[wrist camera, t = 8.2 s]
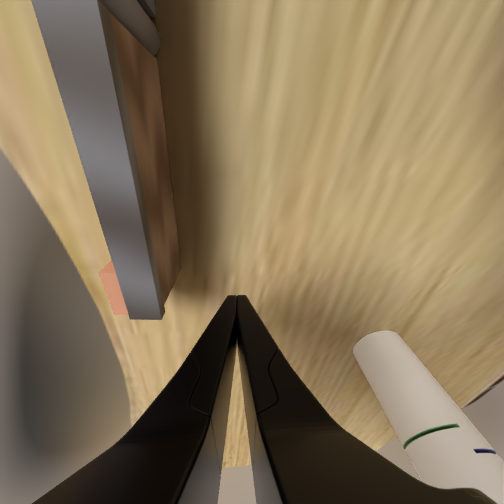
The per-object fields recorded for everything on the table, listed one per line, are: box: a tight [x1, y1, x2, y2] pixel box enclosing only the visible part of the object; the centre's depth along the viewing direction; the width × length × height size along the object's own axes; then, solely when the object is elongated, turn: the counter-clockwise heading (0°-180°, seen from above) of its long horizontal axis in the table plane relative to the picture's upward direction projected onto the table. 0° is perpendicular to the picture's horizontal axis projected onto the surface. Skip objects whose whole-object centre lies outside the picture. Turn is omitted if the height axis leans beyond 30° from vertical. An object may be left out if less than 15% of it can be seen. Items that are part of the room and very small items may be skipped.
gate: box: [31, 0, 181, 320], centre depth 14 cm, size 16×2×7 cm, turn 176°
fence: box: [99, 0, 161, 315], centre depth 12 cm, size 4×27×8 cm, turn 176°
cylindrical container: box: [353, 330, 504, 504], centre depth 19 cm, size 7×7×25 cm
